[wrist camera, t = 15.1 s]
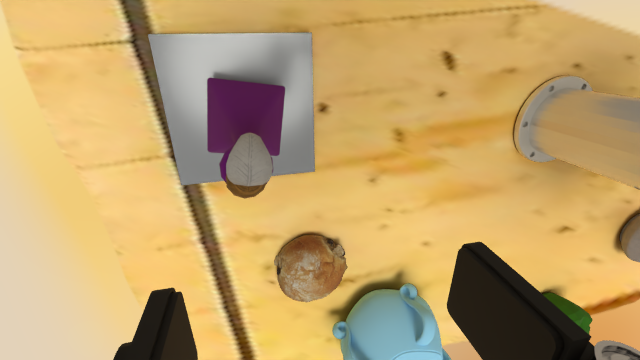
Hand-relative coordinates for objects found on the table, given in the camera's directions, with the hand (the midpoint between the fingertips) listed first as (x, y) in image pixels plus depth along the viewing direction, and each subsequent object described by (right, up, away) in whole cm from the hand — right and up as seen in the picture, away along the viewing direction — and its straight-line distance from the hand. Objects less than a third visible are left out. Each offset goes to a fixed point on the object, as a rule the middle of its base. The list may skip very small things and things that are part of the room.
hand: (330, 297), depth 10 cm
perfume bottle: (-9, +12, +24) cm, 28 cm away
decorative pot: (+10, -20, +44) cm, 50 cm away
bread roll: (-2, -8, +36) cm, 37 cm away
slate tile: (-9, +12, +25) cm, 29 cm away
